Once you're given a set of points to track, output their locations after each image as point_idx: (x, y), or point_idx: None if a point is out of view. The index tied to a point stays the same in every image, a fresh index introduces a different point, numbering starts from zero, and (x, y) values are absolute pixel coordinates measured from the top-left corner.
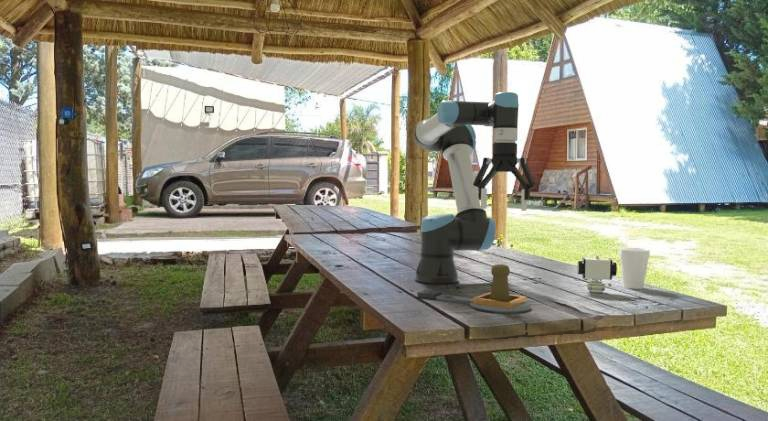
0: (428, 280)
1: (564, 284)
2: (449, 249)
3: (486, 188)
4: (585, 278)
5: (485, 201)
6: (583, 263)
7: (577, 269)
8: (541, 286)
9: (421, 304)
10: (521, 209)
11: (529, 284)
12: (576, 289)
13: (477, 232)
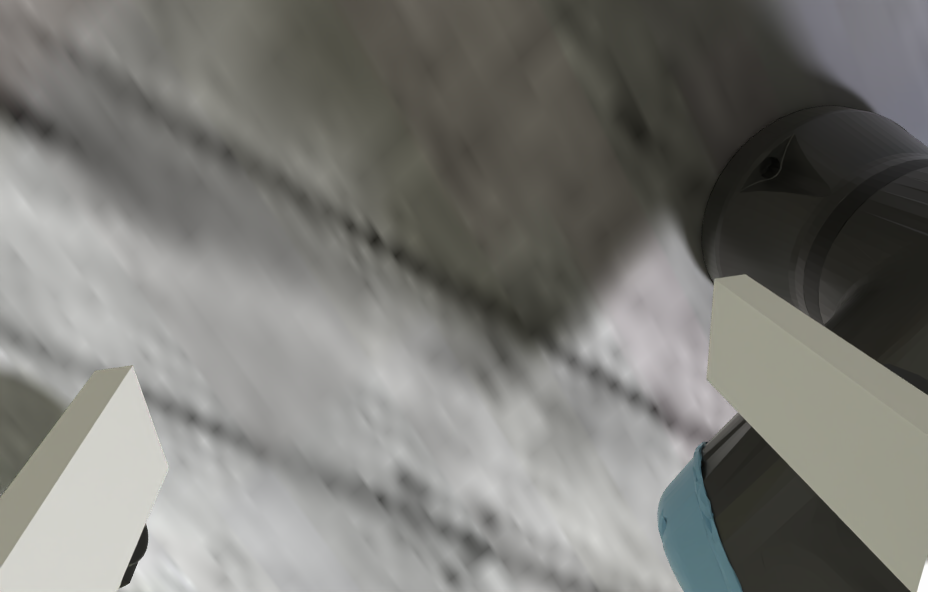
0: (814, 111)
1: (297, 538)
2: (845, 268)
3: (920, 578)
4: None
5: (764, 398)
6: None
7: (142, 533)
8: (344, 434)
9: None
10: (122, 375)
11: (410, 437)
12: (190, 480)
13: (766, 469)
